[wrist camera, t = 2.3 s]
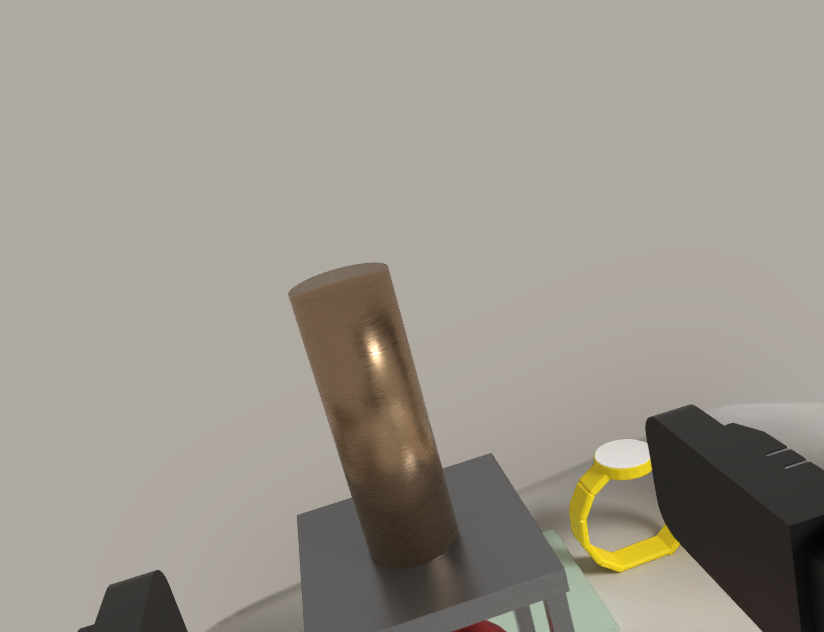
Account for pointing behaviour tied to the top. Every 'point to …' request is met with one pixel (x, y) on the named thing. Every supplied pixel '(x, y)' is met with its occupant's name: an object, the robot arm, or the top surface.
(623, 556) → the watch
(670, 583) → the top surface
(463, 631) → the onion
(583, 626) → the mat
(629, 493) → the top surface
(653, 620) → the top surface
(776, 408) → the top surface
